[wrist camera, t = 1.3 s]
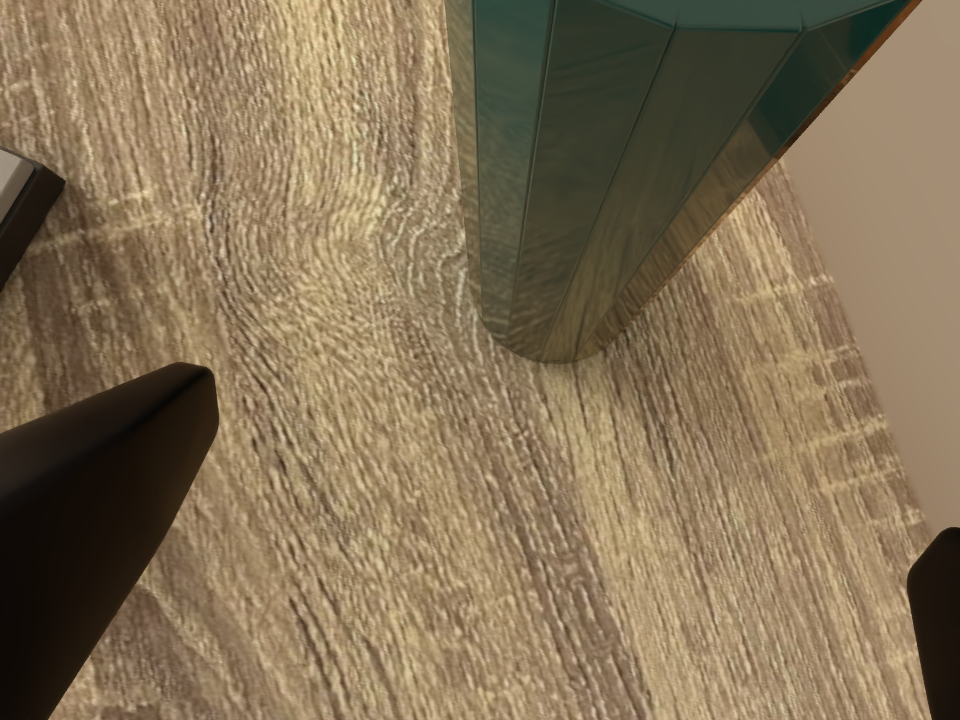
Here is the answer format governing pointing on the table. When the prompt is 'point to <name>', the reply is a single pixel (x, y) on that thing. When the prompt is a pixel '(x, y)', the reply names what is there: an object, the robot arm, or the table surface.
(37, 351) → the table surface
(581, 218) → the tumbler
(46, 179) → the scale
